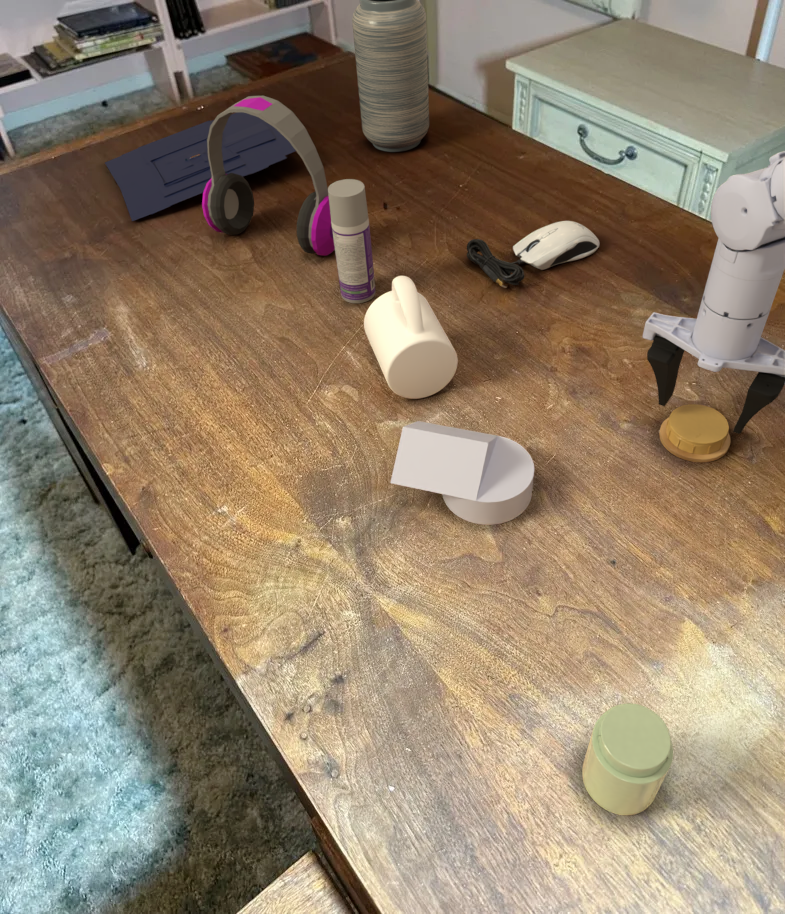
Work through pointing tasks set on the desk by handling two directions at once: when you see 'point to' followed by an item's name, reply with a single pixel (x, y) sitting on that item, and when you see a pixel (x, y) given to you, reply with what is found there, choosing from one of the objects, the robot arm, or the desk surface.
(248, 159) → the dark blue flat panel
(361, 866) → the desk surface
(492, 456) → the wedge on round base
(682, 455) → the tan round disc
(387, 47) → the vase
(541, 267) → the computer mouse
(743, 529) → the desk surface
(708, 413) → the lid
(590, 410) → the desk surface
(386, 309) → the mug
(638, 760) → the jar
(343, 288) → the container
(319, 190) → the headphones
